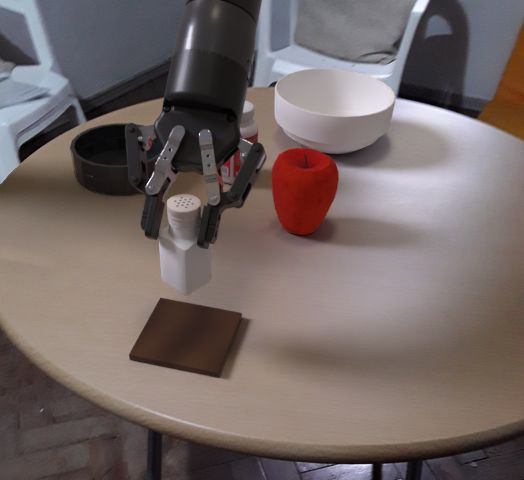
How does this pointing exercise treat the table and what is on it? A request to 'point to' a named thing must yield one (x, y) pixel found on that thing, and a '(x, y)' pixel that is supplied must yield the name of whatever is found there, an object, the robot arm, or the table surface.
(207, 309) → the coaster
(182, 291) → the salt shaker
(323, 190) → the apple
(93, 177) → the pan
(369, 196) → the table surface
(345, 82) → the bowl
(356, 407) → the table surface
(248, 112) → the pill bottle
